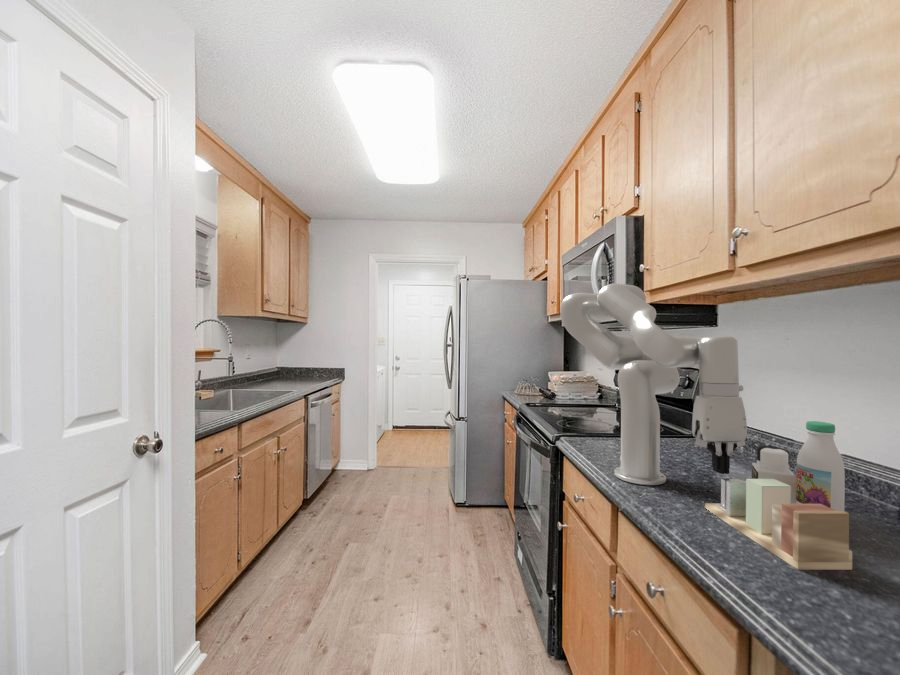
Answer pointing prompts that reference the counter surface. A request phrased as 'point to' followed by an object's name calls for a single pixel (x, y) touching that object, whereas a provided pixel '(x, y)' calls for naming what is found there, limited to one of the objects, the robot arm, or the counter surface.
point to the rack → (801, 535)
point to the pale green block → (764, 502)
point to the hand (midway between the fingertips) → (721, 472)
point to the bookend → (733, 497)
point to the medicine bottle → (774, 467)
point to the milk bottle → (820, 468)
